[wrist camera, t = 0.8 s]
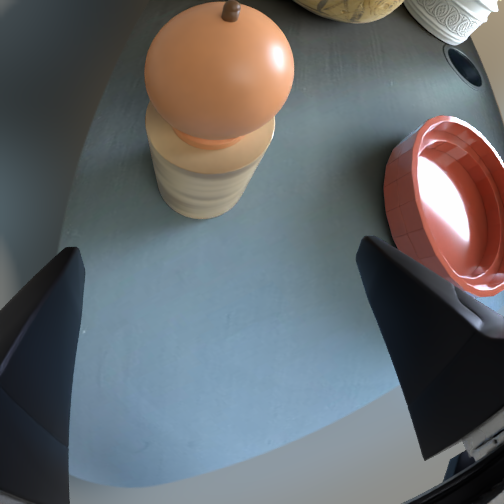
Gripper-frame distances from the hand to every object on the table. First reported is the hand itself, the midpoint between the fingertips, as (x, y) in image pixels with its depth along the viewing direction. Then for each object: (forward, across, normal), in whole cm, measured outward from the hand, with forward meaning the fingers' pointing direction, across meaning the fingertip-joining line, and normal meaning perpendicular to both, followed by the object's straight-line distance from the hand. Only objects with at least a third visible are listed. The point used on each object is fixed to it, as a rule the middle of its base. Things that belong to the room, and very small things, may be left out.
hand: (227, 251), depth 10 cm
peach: (+10, 0, -2) cm, 10 cm away
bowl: (+14, -25, +7) cm, 29 cm away
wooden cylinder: (+16, 0, +5) cm, 16 cm away
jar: (+40, -38, -17) cm, 58 cm away
